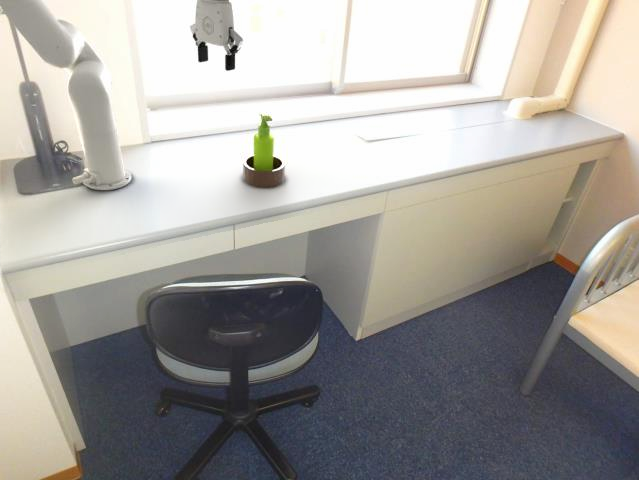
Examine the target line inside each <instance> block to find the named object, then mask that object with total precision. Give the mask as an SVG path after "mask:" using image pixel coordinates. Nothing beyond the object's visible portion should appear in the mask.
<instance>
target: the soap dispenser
mask: <svg viewBox="0 0 639 480" xmlns="http://www.w3.org/2000/svg"><path fill="white" fill-rule="evenodd" d="M259 116H260V123H258V125H257V133H255V134H254V135H253V155H254V169H255V170H261V171H270V170H273V155H274V147H275V145H274V142H275V141H274V140H275V137H274V134H272V133H270V132H271V131H270V130H271V125H270V124H269V123H268V122H272V121H273V118H272V117H271V115H270V114H268V113H267V112H259Z"/></svg>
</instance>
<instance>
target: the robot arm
mask: <svg viewBox="0 0 639 480" xmlns="http://www.w3.org/2000/svg"><path fill="white" fill-rule="evenodd" d="M0 6H1V7H2V9H3V12H2V13H3V14H4V15H5V16H6V17H7V19H8V20H9V21H10V22H11V24H12V25H13V26H14V27H15V29H16V30H17V32H19V33H20V34H21V36H22V37H23V38H24V39H25V40H26V42H27V43H28V44H29V45H30V47H31V48H32V49H33V50H34V51H35V53H36V54H37V55H38V56H39V57H40V58H41V60H43V62H44V63H46V64H47V65H48V66H51V67H52V68H55V69H59V70H62V69H64V70H65V71H66V73H67V74H68V75H69V76H68V79H67V85H66V91H67V97H68V101H69V103H70V106H71V108H72V112H73V116H74V119H75V123H76V127H77V132H78V136H79V140H80V144H81V147H82V152H83V156H84V157H83V158H84V161H85V165H86V168H83V172H82V173H81V174H80V175H78V176H74V177H72V178H71V181H72V183H73V184H74V185H75V186H76V185H79V184H81V183H82V184H83V185H84V186H86V187H87V188H89V189H92V190H95V191H112V190H113V191H114V190H118V189H120V188H123V187H125V186H126V185H128V184H130V182H131V181H132V174H131V172H130V171H129V170H128V169H125V166H124V160H123V154H122V148H121V145H120V143H121V142H120V138H119V133H118V127H117V122H116V116H115V113H114V108H113V107H114V106H113V104H112V98H111V97H112V96H111V89H112V84H113V83H112V82H113V79H112V78H113V77H112V74H111V71H110V69H109V68H108V66H107V65H106V63H105V62H104V61H103V59H102V58H101V57H100V56H99V54H98V53H97V52H96V50H95V49H94V48H93V46H92V45H91V43H90V42H89V41H88V40H87V38H86V37H85V36H84V35H83V33H82V32H81V30H79V29H78V28H77V27H76V26H75V25H74V24H72V23H70V22H68V21H66V20H63V19H58V18H57V17H56V16H55V15H54V14H53V13H52V11H51V10H50V8H49V7H48V6H47V4H46V3H45V2H44V1H43V0H0ZM233 6H234V5H233V2H232V0H196V6H195V17H194V18H195V20H194V21H195V22H194V23H193V24H191V25H190V26H189V28H190V31H191V34H192V38H193V40H194V41H195V46H196V47H197V62H198V63H205V62H209V46H208V45H207V44H210V45H215V46H217V47H223V49H224V50H225V52H226V54H225V55H224V70H225V71H227V72H229V71H230V72H231V71H234V70H235V69H236V55H237V54H238V53H239V51H240V50H241V47H242V45H243V42H244V39H243V37H242V36H241V35H240V34H239V33H238V32H236V21H235V14H234V13H235V12H234V7H233Z"/></svg>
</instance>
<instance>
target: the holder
mask: <svg viewBox="0 0 639 480" xmlns="http://www.w3.org/2000/svg"><path fill="white" fill-rule="evenodd" d="M242 166H243V167H242V171H243V172H242V173H243V174H242V175H243V176H242V177H243V181H244V182H245V183H246V184H247V185H249V186H251V187H254V188H258V189H259V188H260V189H271V188H276V187H278V186H281V185H282V184H283V183H284V181H285V171H286V170H285V169H286V162H285V161H284V159H283V158H282V157H280V156H277V155H274V154H273V170H270V171H261V170H255V169H254V154H250V155H249V156H246V157H245V158H244V159H243V163H242Z"/></svg>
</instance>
